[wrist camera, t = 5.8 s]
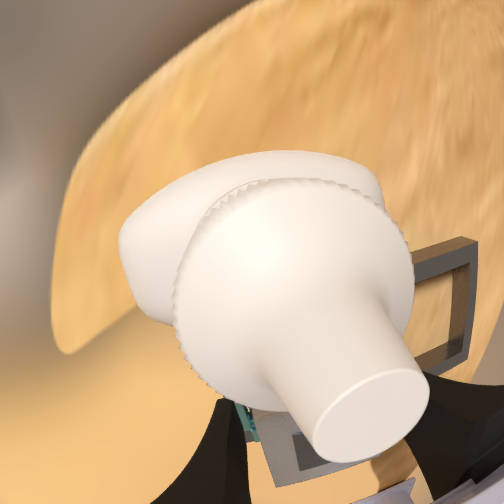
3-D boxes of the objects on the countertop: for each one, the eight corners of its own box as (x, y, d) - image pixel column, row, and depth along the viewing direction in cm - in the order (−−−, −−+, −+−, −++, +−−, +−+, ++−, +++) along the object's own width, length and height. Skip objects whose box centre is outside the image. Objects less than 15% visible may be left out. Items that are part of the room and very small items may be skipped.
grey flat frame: (454, 349, 16) (468, 360, 15) (239, 425, 16) (242, 445, 14) (461, 236, 14) (479, 241, 13) (198, 308, 14) (196, 324, 12)
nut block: (337, 379, 15) (381, 456, 9) (257, 400, 15) (276, 489, 9) (330, 309, 14) (390, 381, 8) (239, 332, 14) (253, 423, 8)
